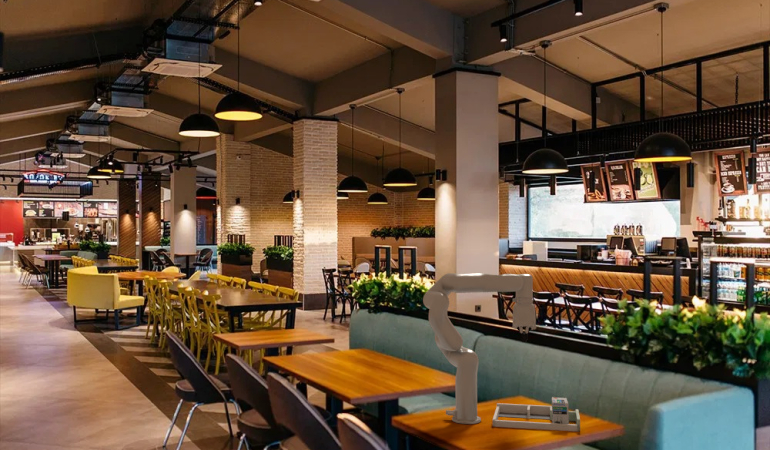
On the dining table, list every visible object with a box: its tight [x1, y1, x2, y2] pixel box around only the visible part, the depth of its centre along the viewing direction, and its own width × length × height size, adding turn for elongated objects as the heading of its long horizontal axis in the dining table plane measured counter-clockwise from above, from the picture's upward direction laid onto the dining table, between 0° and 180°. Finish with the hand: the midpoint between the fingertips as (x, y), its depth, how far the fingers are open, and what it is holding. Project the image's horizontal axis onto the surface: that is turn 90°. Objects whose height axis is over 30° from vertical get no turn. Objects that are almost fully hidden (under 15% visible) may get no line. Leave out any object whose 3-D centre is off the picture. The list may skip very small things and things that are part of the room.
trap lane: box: [492, 402, 581, 432], centre depth 300 cm, size 36×25×5 cm
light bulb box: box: [551, 396, 570, 424], centre depth 294 cm, size 11×7×11 cm, turn 169°
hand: (524, 341), depth 310 cm, fingers closed
